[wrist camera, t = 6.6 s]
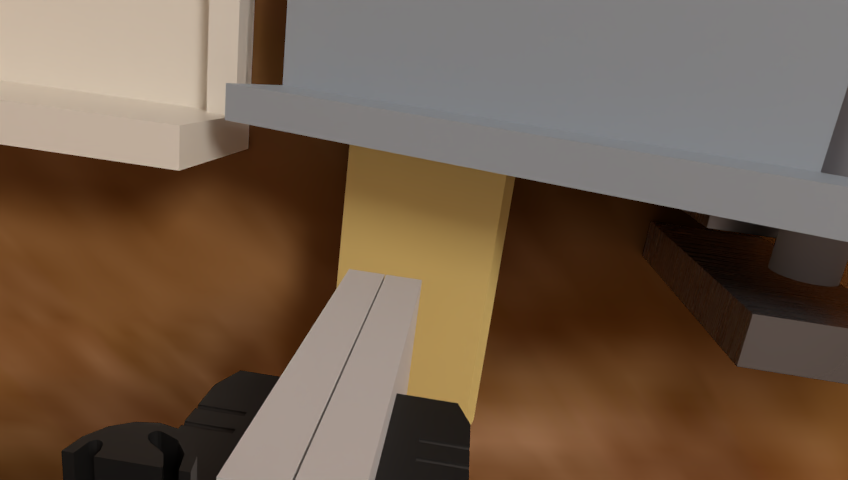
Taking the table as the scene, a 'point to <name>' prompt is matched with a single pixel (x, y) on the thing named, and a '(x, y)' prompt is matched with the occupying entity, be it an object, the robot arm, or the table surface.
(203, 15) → the tray
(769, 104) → the lever
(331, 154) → the table surface
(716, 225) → the fulcrum
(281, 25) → the table surface
